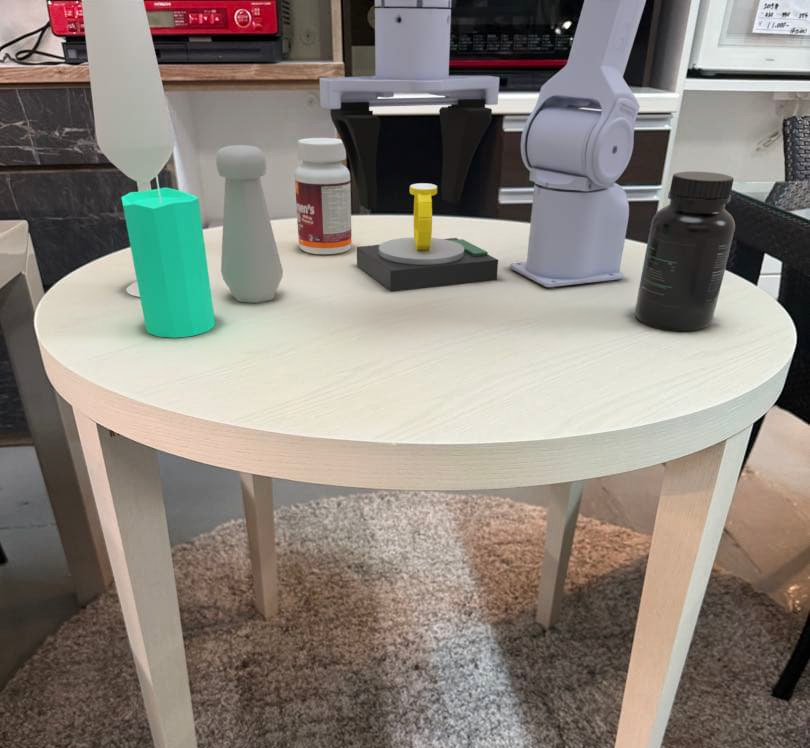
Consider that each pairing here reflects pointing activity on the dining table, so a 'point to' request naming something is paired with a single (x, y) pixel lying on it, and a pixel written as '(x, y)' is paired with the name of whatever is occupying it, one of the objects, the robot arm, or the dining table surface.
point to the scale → (426, 263)
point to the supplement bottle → (687, 253)
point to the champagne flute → (127, 91)
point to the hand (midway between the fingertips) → (410, 204)
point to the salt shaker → (247, 227)
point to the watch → (423, 214)
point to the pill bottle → (323, 197)
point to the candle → (169, 261)
